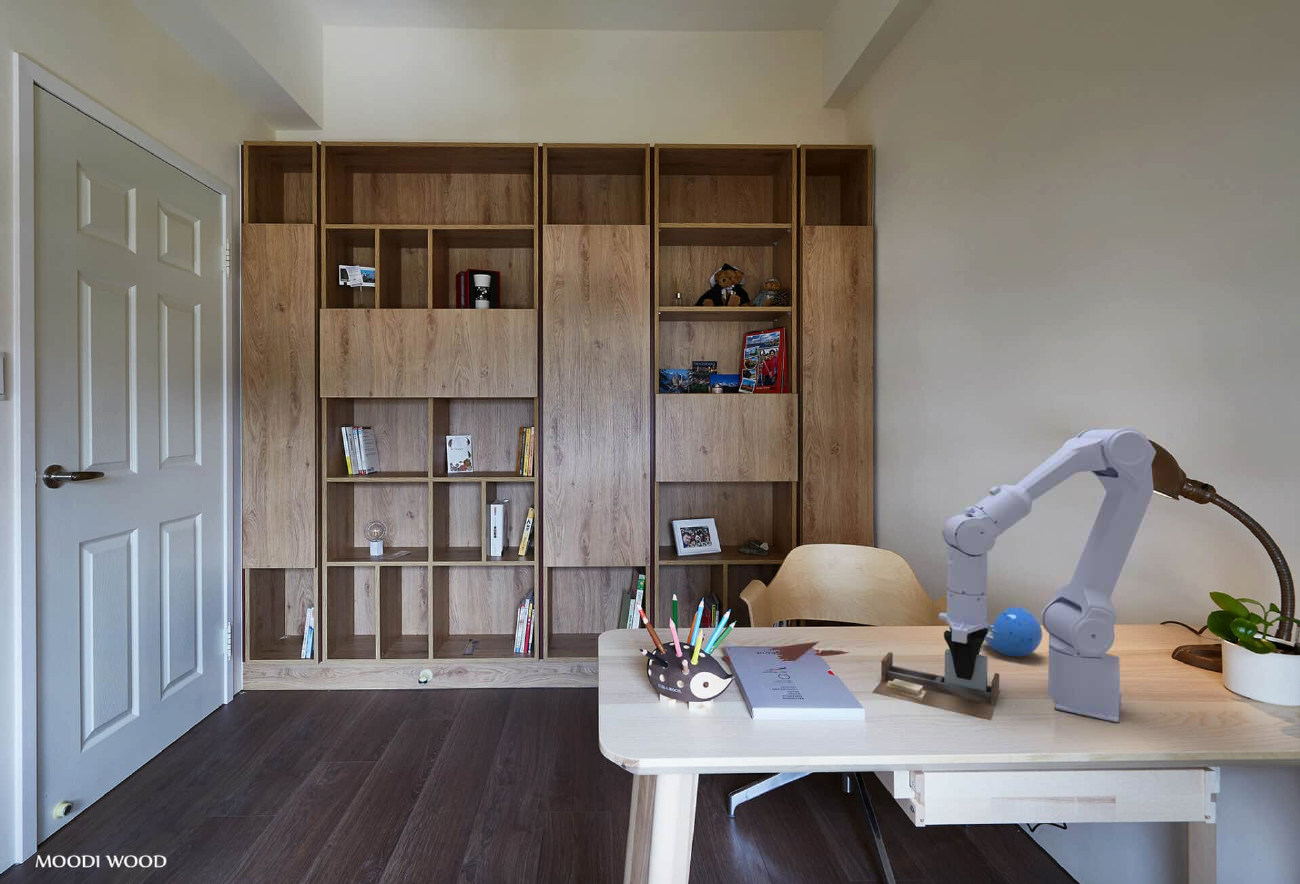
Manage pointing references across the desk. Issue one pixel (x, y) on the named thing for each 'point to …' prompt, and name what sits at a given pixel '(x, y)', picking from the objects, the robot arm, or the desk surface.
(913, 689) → the offcut stack
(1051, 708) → the desk surface
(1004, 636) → the cell model
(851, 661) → the desk surface
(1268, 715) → the desk surface
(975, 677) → the slate board
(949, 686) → the board with sliding block
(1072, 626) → the robot arm
